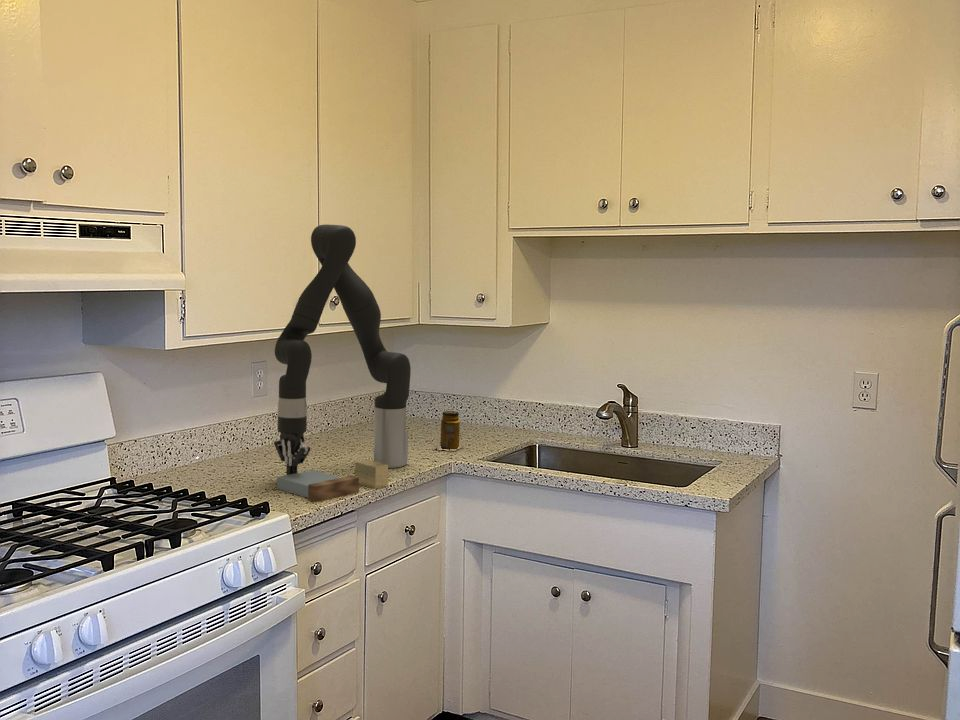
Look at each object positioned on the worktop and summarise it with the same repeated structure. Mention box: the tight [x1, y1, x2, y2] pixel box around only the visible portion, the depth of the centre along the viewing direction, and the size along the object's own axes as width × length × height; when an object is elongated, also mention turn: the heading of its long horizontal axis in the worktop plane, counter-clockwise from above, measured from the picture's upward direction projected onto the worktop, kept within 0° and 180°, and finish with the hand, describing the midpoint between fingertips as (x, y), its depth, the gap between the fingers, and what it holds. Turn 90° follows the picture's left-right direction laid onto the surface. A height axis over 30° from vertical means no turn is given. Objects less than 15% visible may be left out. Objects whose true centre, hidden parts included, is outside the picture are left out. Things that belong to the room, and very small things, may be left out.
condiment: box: [432, 410, 461, 451], centre depth 289 cm, size 7×8×12 cm
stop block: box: [307, 475, 360, 503], centre depth 226 cm, size 14×3×4 cm, turn 139°
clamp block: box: [354, 459, 389, 489], centre depth 239 cm, size 4×8×6 cm, turn 50°
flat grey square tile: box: [276, 469, 342, 499], centre depth 232 cm, size 12×14×3 cm
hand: (291, 478), depth 238 cm, fingers closed
